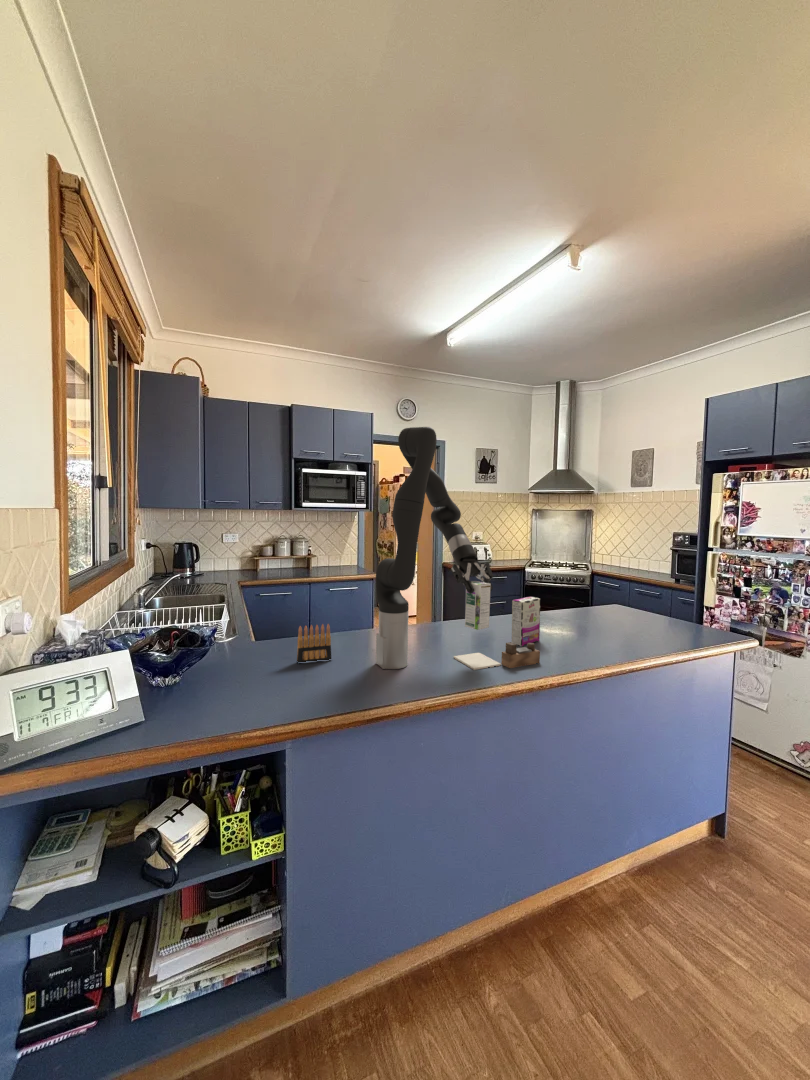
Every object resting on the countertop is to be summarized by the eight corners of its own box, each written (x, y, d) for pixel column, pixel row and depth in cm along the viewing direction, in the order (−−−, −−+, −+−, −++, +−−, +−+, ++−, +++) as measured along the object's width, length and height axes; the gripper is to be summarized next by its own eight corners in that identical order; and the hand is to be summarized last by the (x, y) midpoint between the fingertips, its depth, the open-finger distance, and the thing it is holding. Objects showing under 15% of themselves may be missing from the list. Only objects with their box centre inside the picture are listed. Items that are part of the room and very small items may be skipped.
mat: (474, 670, 137) (474, 668, 137) (453, 658, 148) (453, 656, 148) (500, 665, 141) (500, 663, 141) (479, 654, 152) (479, 652, 152)
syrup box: (464, 626, 144) (465, 581, 143) (476, 623, 148) (478, 580, 147) (477, 630, 140) (478, 584, 139) (490, 627, 143) (491, 582, 142)
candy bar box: (528, 638, 172) (530, 596, 171) (539, 641, 168) (541, 598, 167) (510, 643, 165) (511, 599, 164) (521, 646, 161) (523, 601, 160)
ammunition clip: (297, 664, 139) (297, 626, 139) (296, 662, 141) (296, 625, 140) (331, 660, 143) (331, 624, 142) (330, 659, 145) (330, 622, 144)
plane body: (509, 668, 139) (510, 646, 138) (501, 664, 142) (502, 642, 142) (539, 663, 144) (540, 641, 143) (531, 659, 148) (531, 638, 147)
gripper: (448, 544, 146) (467, 586, 136) (484, 543, 152) (505, 583, 142) (439, 558, 151) (457, 600, 141) (475, 557, 157) (494, 596, 147)
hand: (481, 591), depth 141 cm, fingers closed on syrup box, 6 cm apart
